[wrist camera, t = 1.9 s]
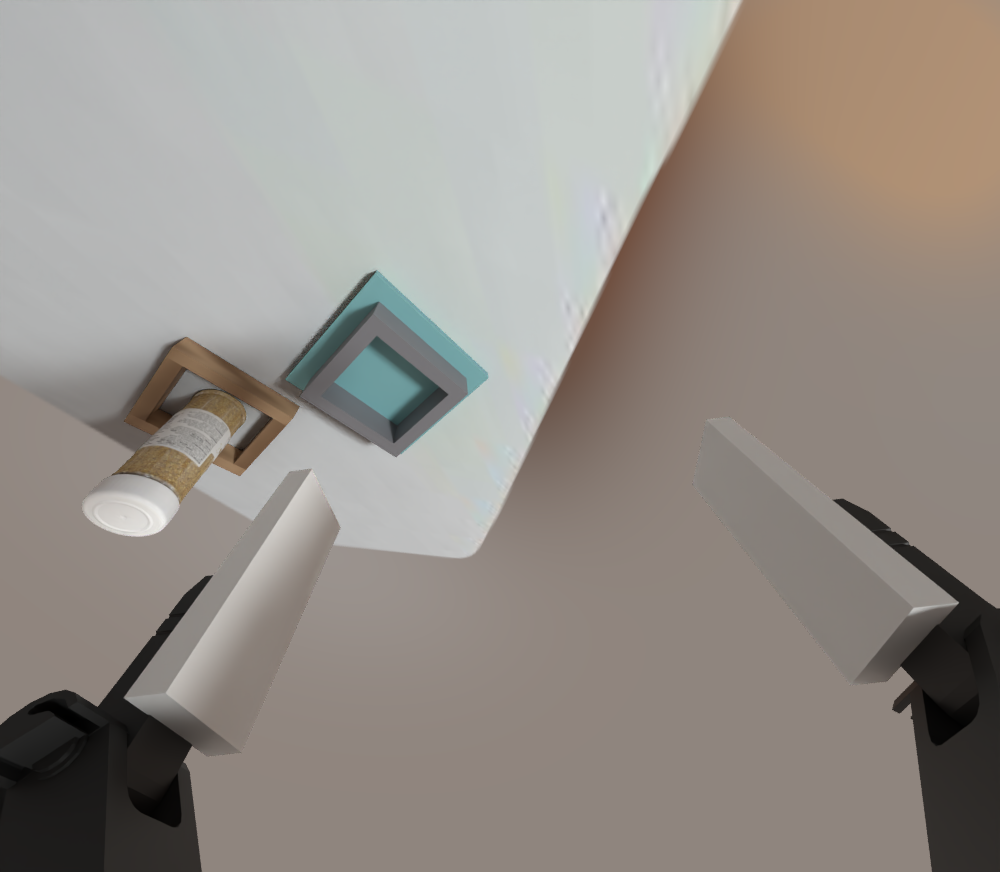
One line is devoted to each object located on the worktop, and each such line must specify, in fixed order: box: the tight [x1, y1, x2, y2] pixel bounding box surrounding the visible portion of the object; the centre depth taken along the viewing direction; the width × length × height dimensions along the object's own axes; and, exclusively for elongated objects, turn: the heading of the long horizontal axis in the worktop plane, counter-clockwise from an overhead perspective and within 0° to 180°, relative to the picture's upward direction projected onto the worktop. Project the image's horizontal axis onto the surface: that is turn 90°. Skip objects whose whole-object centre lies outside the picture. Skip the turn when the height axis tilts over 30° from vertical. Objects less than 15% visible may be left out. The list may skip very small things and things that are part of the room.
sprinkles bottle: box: [82, 389, 246, 536], centre depth 29 cm, size 5×5×13 cm
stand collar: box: [124, 337, 300, 476], centre depth 34 cm, size 10×10×2 cm
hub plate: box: [285, 271, 488, 457], centre depth 33 cm, size 13×13×4 cm
